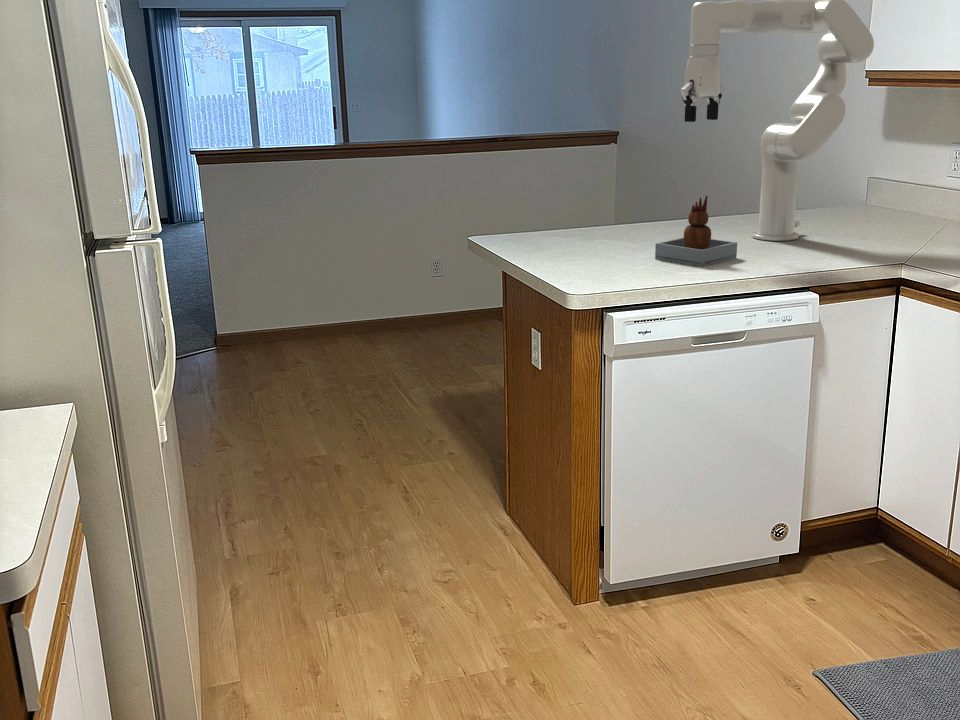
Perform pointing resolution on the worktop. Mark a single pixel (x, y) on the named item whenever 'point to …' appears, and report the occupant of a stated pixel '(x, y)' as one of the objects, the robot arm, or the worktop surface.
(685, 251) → the slate tray
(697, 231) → the wooden figurine
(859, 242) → the worktop surface
